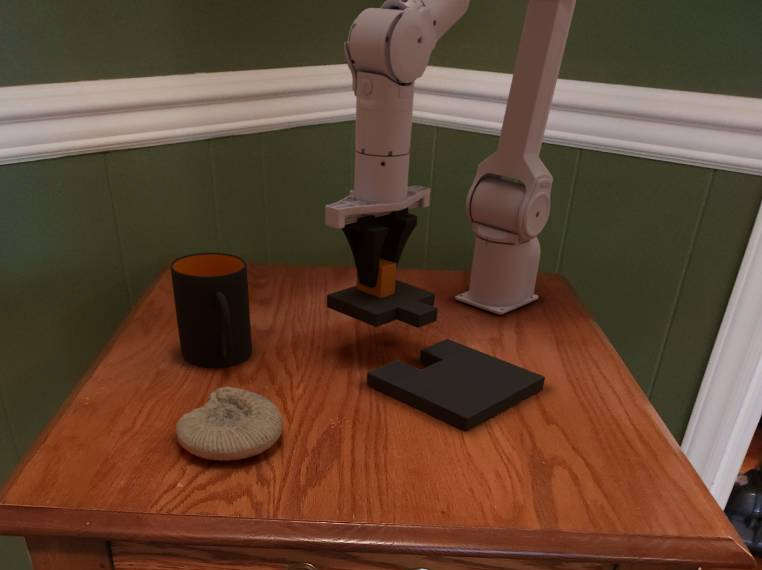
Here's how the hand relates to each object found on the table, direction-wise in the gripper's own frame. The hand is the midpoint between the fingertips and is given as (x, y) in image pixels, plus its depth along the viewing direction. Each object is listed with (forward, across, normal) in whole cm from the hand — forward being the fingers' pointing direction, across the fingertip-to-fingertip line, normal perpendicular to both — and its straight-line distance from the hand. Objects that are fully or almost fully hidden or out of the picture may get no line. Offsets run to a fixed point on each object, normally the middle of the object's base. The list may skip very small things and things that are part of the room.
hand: (376, 282), depth 84 cm
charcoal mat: (+8, +1, +14) cm, 16 cm away
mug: (+8, +16, -9) cm, 20 cm away
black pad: (+3, 0, +2) cm, 4 cm away
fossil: (+8, +26, +6) cm, 28 cm away
